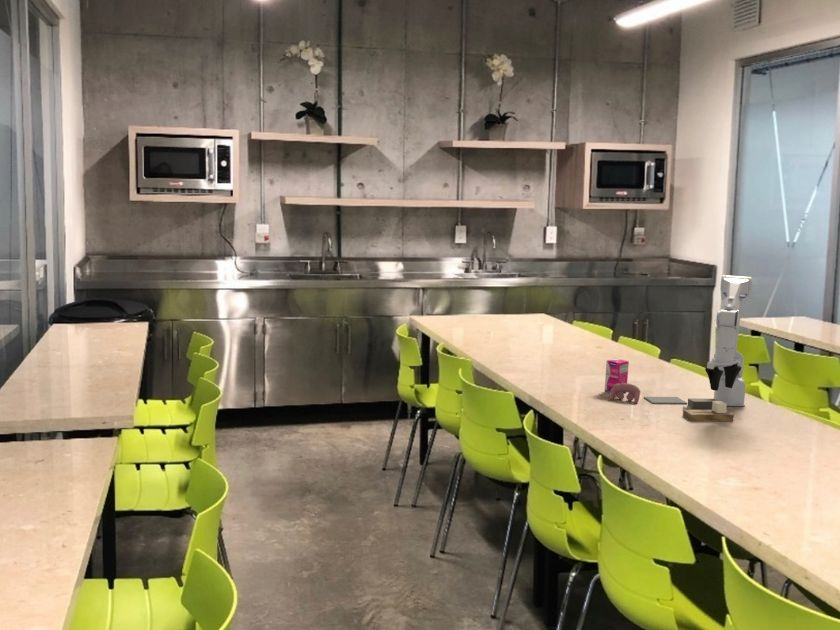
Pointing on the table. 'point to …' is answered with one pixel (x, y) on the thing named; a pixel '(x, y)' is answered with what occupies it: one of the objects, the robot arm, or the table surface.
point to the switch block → (707, 415)
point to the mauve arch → (624, 387)
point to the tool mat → (665, 400)
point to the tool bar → (699, 404)
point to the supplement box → (616, 373)
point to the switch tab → (719, 407)
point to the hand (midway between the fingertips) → (721, 388)
